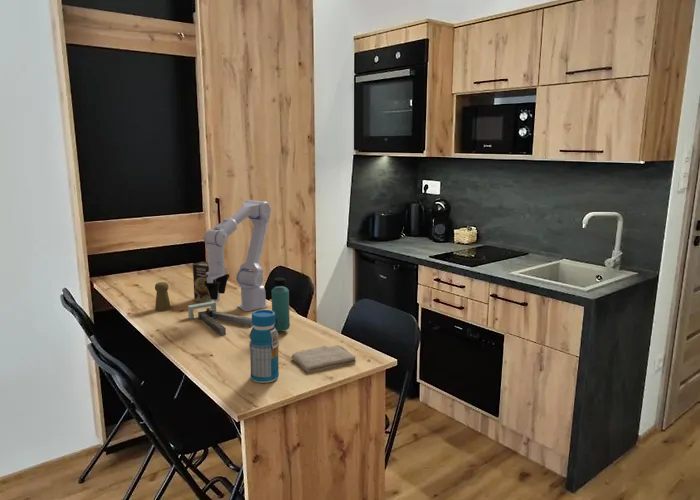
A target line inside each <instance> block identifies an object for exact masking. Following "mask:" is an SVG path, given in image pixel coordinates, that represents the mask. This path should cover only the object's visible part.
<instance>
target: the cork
mask: <svg viewBox="0 0 700 500" xmlns="http://www.w3.org/2000/svg"><path fill="white" fill-rule="evenodd" d="M154 290H155V291H156V294H155V295H156V296H155V297H156V299H155V308H154V310H155V311H156V312H167V311H170V310H171V309H172V308H171V301H170V296H169V292H168V290H169V284H168V282H166V281H165V282H164V281H162V282H161V281H160V282H157V283H156V284H155V285H154Z"/></svg>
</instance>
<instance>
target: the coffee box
mask: <svg viewBox="0 0 700 500" xmlns="http://www.w3.org/2000/svg"><path fill="white" fill-rule="evenodd" d="M207 272H209V262H207V261H200V262H196V263H193V264H192V274H193V275H192V276H193V295H194V296H193V298H194V301H195V302H200V303H206V302H212V301H214V302H216V303H217V301H220V300H221V299H220V298H221V297H220V295H221V293H219V292H218V297H217V300H211V297H210V294H209V291H208V289H207V287H206V286H205V284H204V282H205V281H207V277H208V275H206V273H207ZM215 281H216V280H215Z"/></svg>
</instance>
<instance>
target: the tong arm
mask: <svg viewBox="0 0 700 500" xmlns="http://www.w3.org/2000/svg"><path fill="white" fill-rule="evenodd" d="M205 311H210V312H213V313H212V316H213V319H214V320H215V321H221V322H225V323H230V324H235V325H241V326H245V327H250V328H253V327H254V326H253V325H252V317H251V318H250V317H247V316H241V315H236V314H231V313H225V312H220V311H217V309H216V310H214V309H211V307H209V308H208V307H206V310H205ZM215 311H216V312H215Z"/></svg>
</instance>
